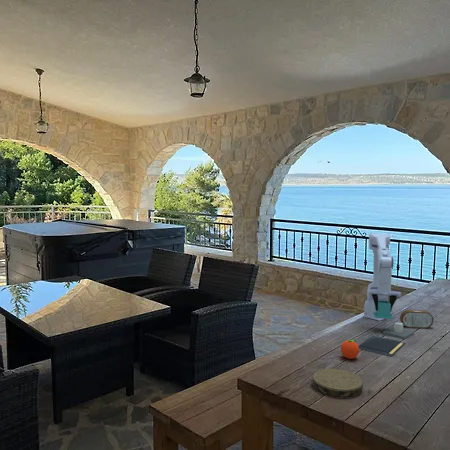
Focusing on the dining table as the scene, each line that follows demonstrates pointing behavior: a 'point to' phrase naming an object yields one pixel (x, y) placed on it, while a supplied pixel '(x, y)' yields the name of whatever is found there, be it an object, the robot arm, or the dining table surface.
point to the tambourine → (337, 383)
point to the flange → (383, 310)
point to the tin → (416, 318)
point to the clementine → (350, 349)
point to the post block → (398, 331)
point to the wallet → (381, 346)
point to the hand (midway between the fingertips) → (383, 310)
